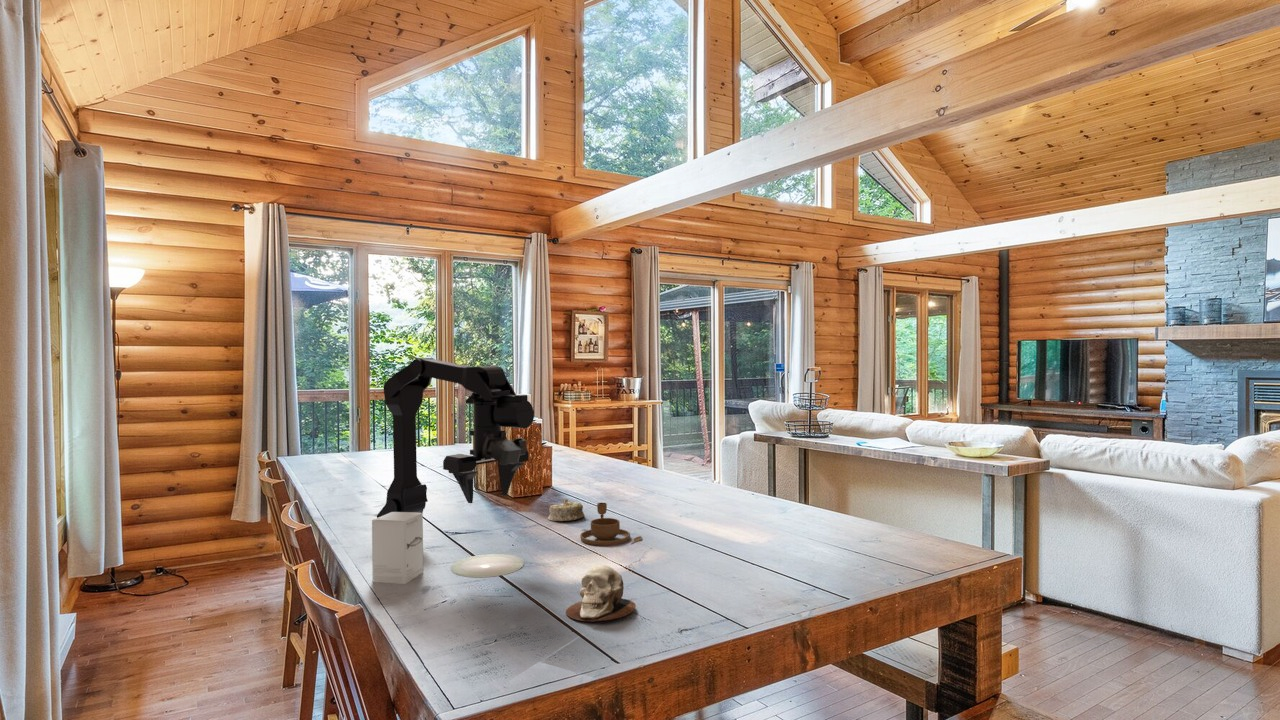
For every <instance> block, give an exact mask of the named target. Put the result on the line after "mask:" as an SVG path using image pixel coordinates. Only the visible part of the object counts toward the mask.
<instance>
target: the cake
mask: <svg viewBox="0 0 1280 720" xmlns="http://www.w3.org/2000/svg"><path fill="white" fill-rule="evenodd" d="M562 501H563V502H562V503H561V504H553V505H550V507H549V509H548V511H549V516H548V517H547V519H548V520H549V521H553V522H564V521H565V522H568V521H575V520H579V519H581V518H583V517H585V514H584V511H583V509H584V506H583V505H582V504H581V502H576V501H575V502H574V501H569V500H568V499H566V498H562Z"/></svg>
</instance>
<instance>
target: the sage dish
mask: <svg viewBox="0 0 1280 720" xmlns="http://www.w3.org/2000/svg"><path fill="white" fill-rule="evenodd" d="M523 565H525V561H524V559H522V558H521V557H519V556H517V555H513V554H506V553H505V554H503V553H502V554H501V553H490V554H489V553H487V554H479V555H472V556H467V557H465V558H461V559H459V560H457V561H456V562H453V564H452V565H451V566H450V570H451V572H452V573H453V574H455V575H457V576H460V577H461V576H462V577H465V578H466V577H467V578H491V577H492V578H493V577H499V576H504V575H505V576H506V575H508V574H512V573H515V572H517V571H519V570H521V569H522V568H523V567H524V566H523ZM521 567H522V568H521ZM520 568H521V569H520Z"/></svg>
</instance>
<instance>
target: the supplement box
mask: <svg viewBox="0 0 1280 720" xmlns="http://www.w3.org/2000/svg"><path fill="white" fill-rule="evenodd" d="M423 513H424V512H423ZM423 513H415V512H390V513H388V514H386V515H383V516H381V517H378V518H377V517H376V518H374V519H372V520H371V542H372V543H371V546H372V547H371V550H372V551H371V556H372V558H371V559H372V567H371V569H372V574H371V575H372V582H373V583H382V584H397V585H398V584H399V585H406V584H407V583H409V582H410V581H412V580H414V579H415V578H417V577H419V576H420V575H422V574H423V573H424V528H423V526H424V522H423V521H424V519H423V515H424V514H423Z"/></svg>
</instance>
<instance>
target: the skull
mask: <svg viewBox="0 0 1280 720" xmlns="http://www.w3.org/2000/svg"><path fill="white" fill-rule="evenodd" d="M581 586H582V587H581V589H580V590H579V593H578V595H579V596H580V597H582V600H581V601H578V602H575V603H574V604H572V605H570V606H568V607H567V609H566V610H565V614H566V616H567V617H569V618H571V619H573V620H577V621H581V622H592V623H593V622H602V621H604V622H605V621H611V620H615V619H617V620H618V619H620V618H622V617H625V616H626V617H627V616H628V615H629V614H631V613H632V612H634V611H635V610H636V603H635V602H634V601H632V600H630V599H627V598H623V595H624V580H623V577H622V575H621V574H620V573H619V572H618V571H617V570H615V569H614V568H613V567H611V566H608V565H606V564H597V565H596V564H595V565H594V566H592V567H591V568H589V569H588V570H587V571H586V573H585V574H584V575H583V576H582V578H581Z"/></svg>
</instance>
